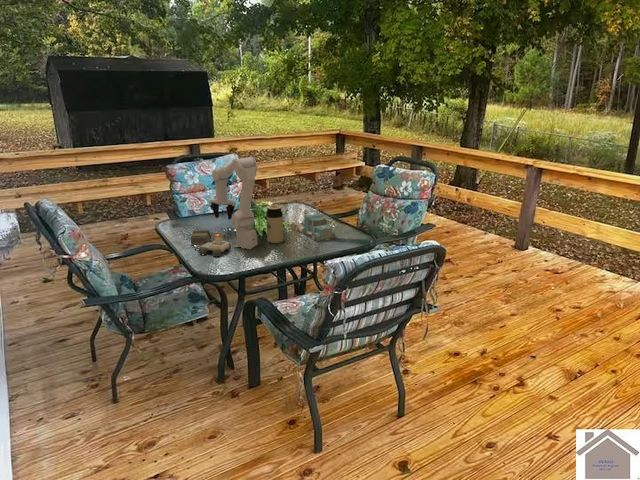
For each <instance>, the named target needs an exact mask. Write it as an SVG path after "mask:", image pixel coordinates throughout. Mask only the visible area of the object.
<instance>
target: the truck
mask: <svg viewBox="0 0 640 480" xmlns="http://www.w3.org/2000/svg"><path fill="white" fill-rule="evenodd" d="M314 209H315V211H314V212H315V213H313V214H308V209H304V216H303V218H304V221H303V222H298V221H296V222H295V221H294V222H292V223H291V224H290V227H291V228H292V229H293V230H295V231H297V232H301V233H302V234H303V235H305V236H306V237H309V238H310V239H312V241H314V242H316V243H321V242H325V241H331V240H336V239H338V236H337V235H336V232H335V230H334V229H332V227H331V224H330V223H328V221H329V219H326V217H324V214H322V213H321V212H320V213H319V207H316V208H314Z"/></svg>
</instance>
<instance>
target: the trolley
mask: <svg viewBox="0 0 640 480" xmlns="http://www.w3.org/2000/svg"><path fill="white" fill-rule="evenodd" d="M198 247H200V248H198ZM195 249H199V250H198V254H199V253H200V254H205V255H207V253H208V251H212V253H211V254H212V256H213V257H214V256H219V257H220V256H221V255H222V252H228V251H231V249H232V246H231V244H230V243H229V242H228V241H224V240H222V246H219V245H215V240H213V241H211V242H210V241H209V242H208V243H206V244H204V245H199V246H197V247H194V250H195ZM224 250H226V251H224ZM200 254H199V255H200Z"/></svg>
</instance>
